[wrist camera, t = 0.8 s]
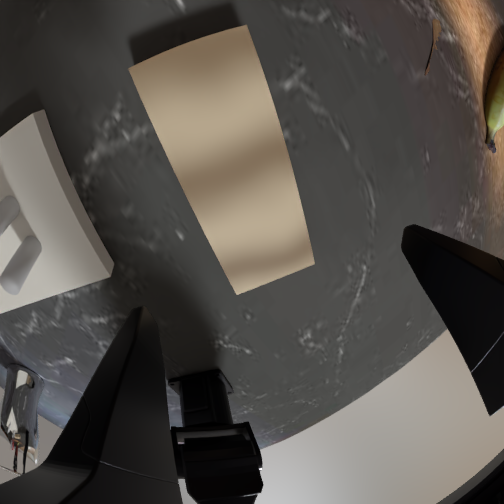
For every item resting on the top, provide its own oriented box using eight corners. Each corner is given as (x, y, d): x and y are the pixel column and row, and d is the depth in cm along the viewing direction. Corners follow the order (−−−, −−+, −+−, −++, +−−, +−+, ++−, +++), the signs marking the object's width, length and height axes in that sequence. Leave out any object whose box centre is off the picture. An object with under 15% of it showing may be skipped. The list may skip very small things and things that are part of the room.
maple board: (302, 244, 21) (314, 263, 19) (231, 272, 22) (236, 294, 20) (237, 32, 12) (246, 24, 10) (137, 70, 12) (128, 68, 10)
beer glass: (-2, 356, 21) (-21, 456, 9) (40, 369, 24) (27, 478, 12) (14, 381, 25) (2, 469, 13) (52, 392, 27) (45, 485, 15)
